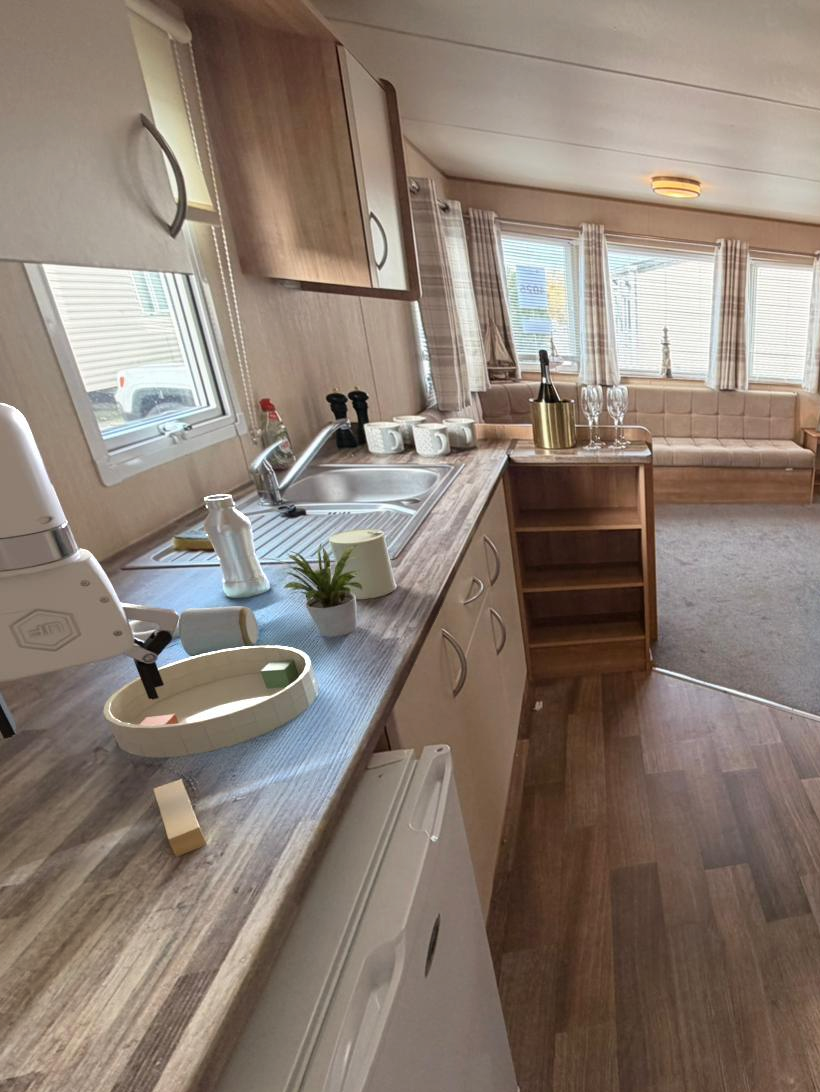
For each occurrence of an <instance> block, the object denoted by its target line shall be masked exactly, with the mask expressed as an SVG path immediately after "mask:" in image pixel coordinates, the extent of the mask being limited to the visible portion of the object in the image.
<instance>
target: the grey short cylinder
mask: <svg viewBox="0 0 820 1092" xmlns="http://www.w3.org/2000/svg"><path fill="white" fill-rule="evenodd" d="M179 616H180V618H179V635H180V636H179V639H180V644H181V646H182V649H183V651H185V653H186V654H187V655H188V656H189V657H195V656H198V655H202V654H206V653H211V652H215V651H220V650H225V649H232V648H239V647H248V646H256V644H257V643H258V639H259V627H258V622H257V618H256V616H255V612H253V610H252V609H250V608H249V607H247V606H240V605H239V606H238V605H232V606H217V607H195V608H186V609H183V610H182V612H181V613H180V615H179Z"/></svg>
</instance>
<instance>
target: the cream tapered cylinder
mask: <svg viewBox="0 0 820 1092" xmlns="http://www.w3.org/2000/svg"><path fill="white" fill-rule="evenodd" d="M385 535H386V534H385V532H384V531H383V530H381V529H376V528H357V529H350V530H346V531H345V530H344V531H341V532H338V533H335V534H332V535H330V536H329V538H328V543H329V545H330V548H331V549H330V550H331V551H332V552H331V553H332V556H333V559H334V562H335V566H336V565H337V563H338V562H339V560H340V559H341V557H342V556H343V554H344V553H345V552H346V551H347V550H348V549H349V548H350V547H352V546H354V545H356V544H358V545H357V546H356V547H355V548H354V549H353V550H352V551H351V553H350V556H349V558H348V559H347V561H346V562H345V564H346V563H347V562H348V561H349V560H350V561H349V562H348V563H347V564H346V565H345V564H344V565H345V567H344V568H343V570H342V572H341V574H344V573H347V572H351V571H356V570H360V571H356V572H353V573H350V574H358V575H355V576H356V577H354V578H352V579H351V580H350V581H349V583H350V582H357V583H359V584H361V586H362V590H361V589H359V588H357V587H354V586H350V585H347V587H348V588H350V593H353V594H354V595H355V596H356V600H368V599H369V598H370V599H375V598H379V597H383V596H387V595H388V594H391V593H392V592H394V591H396V589H397V588H398V585H397V583H396V580H395V575H394V572H393V568H392V563H391V558H390V555H389V549H388V545H387V540H386V536H385ZM336 549H337V550H336ZM335 550H336V551H335ZM334 551H335V552H334ZM333 552H334V553H333ZM356 556H358V557H356ZM354 557H355V558H354ZM352 558H353V559H352ZM341 574H340V575H341ZM370 599H369V600H370Z"/></svg>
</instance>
